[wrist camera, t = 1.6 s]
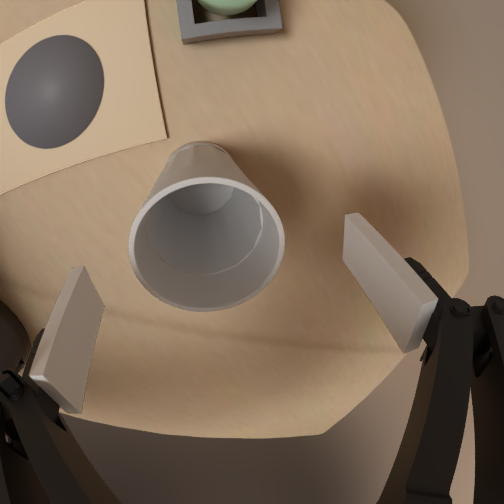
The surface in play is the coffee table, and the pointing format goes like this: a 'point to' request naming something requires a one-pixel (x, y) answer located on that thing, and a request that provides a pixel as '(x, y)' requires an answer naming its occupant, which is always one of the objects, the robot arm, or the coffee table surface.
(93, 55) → the sheet
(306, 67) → the coffee table surface
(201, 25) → the button housing
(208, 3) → the button
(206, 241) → the cup
